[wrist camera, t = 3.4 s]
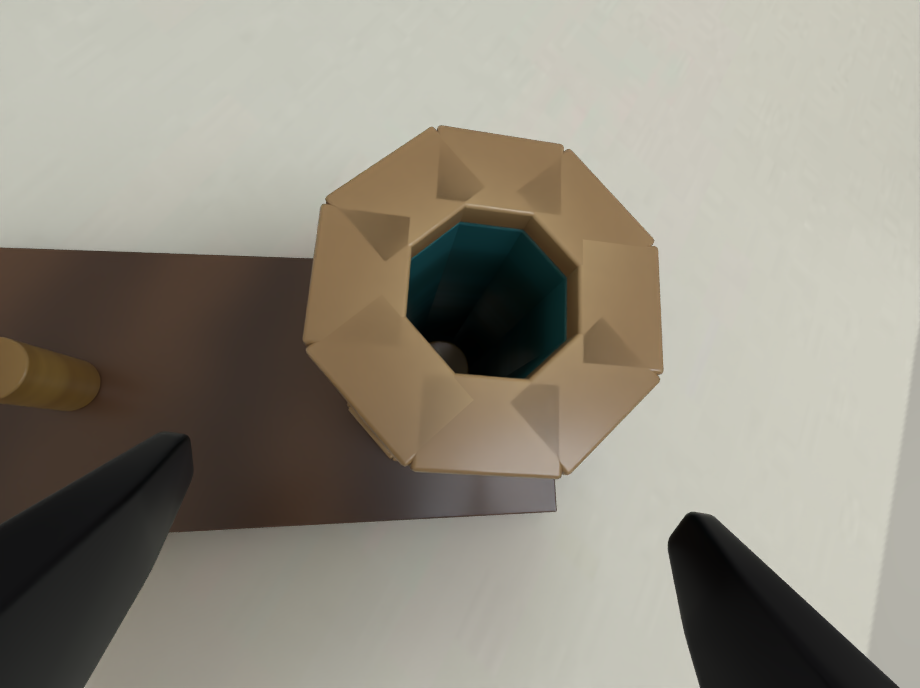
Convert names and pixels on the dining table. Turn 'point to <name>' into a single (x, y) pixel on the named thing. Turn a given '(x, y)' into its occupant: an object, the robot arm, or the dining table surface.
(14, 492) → the spool stand
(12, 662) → the robot arm
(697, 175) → the dining table surface
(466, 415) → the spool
